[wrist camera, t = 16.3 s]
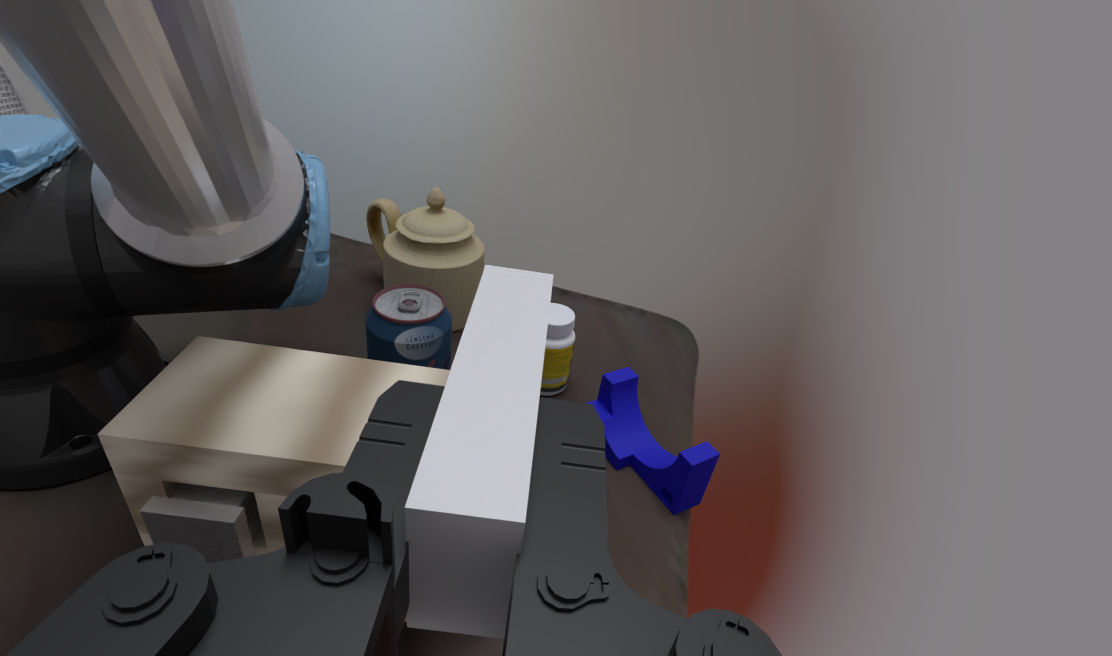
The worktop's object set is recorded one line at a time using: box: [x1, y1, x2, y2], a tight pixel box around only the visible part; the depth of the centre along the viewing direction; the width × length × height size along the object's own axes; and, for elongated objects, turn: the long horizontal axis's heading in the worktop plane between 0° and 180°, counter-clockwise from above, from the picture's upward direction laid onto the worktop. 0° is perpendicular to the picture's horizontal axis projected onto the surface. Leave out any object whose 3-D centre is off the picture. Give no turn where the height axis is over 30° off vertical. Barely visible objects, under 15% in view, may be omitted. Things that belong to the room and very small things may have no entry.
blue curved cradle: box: [586, 367, 720, 515], centre depth 50 cm, size 12×4×6 cm, turn 31°
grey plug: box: [140, 483, 262, 564], centre depth 36 cm, size 5×12×5 cm, turn 177°
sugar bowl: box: [367, 187, 484, 332], centre depth 64 cm, size 15×11×15 cm
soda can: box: [366, 284, 452, 370], centre depth 50 cm, size 7×7×12 cm
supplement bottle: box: [540, 303, 575, 396], centre depth 57 cm, size 5×5×8 cm
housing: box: [98, 336, 450, 556], centre depth 37 cm, size 21×9×14 cm, turn 87°
